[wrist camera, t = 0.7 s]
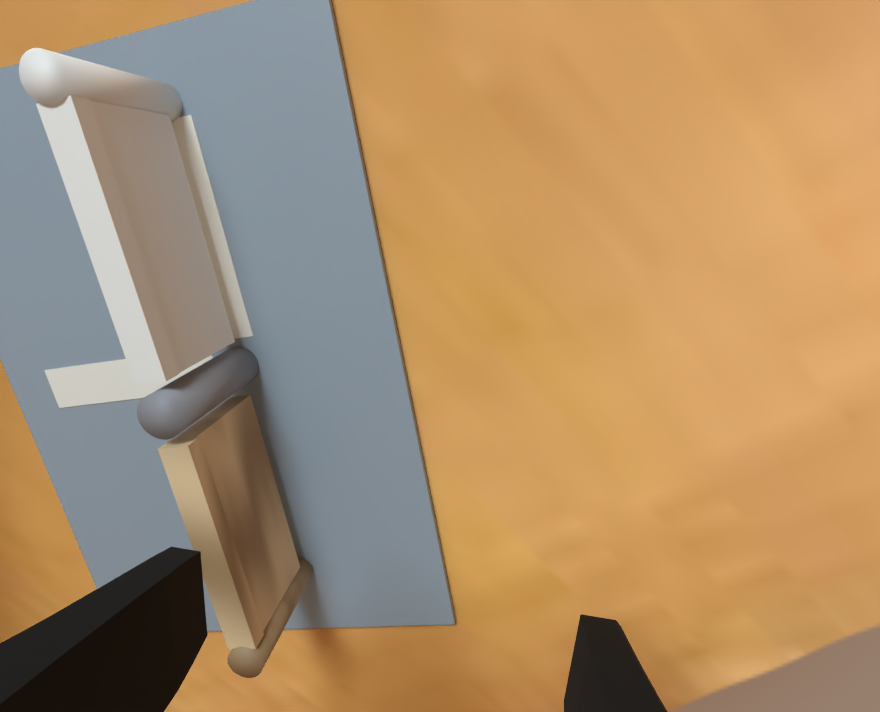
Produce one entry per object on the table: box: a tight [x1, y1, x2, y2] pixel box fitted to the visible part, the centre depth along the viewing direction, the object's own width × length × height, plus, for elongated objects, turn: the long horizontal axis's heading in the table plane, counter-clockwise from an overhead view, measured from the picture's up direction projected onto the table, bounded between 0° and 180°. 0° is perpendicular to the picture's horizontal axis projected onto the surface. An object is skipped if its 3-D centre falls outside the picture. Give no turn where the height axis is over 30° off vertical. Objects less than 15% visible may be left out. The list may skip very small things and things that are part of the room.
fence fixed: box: [19, 48, 259, 440], centre depth 16 cm, size 1×10×5 cm, turn 10°
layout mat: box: [0, 0, 456, 631], centre depth 20 cm, size 16×23×1 cm
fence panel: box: [158, 395, 313, 678], centre depth 19 cm, size 8×1×5 cm, turn 10°
